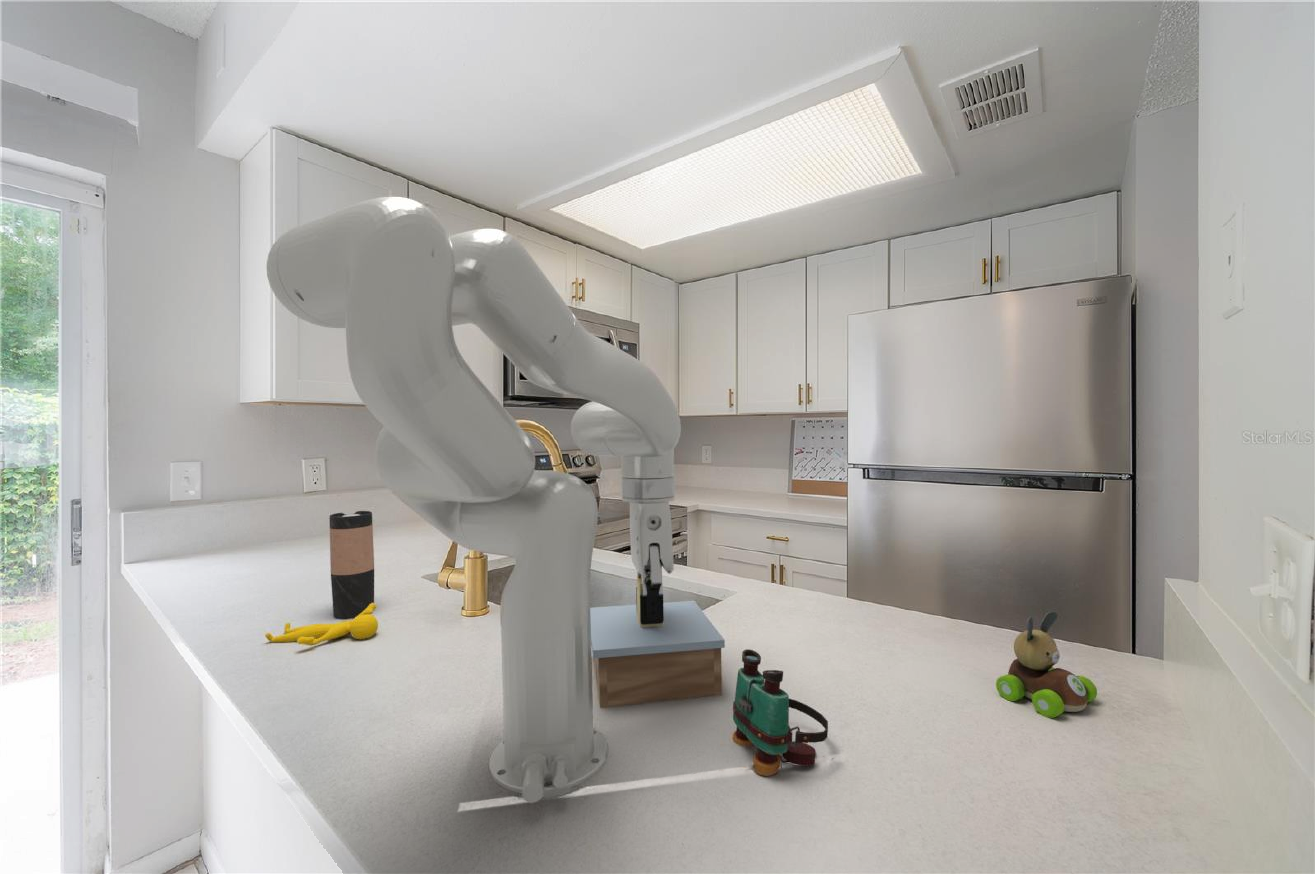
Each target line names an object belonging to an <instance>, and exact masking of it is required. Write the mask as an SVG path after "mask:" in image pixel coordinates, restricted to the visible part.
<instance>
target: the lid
mask: <svg viewBox="0 0 1315 874" xmlns="http://www.w3.org/2000/svg"><path fill="white" fill-rule="evenodd" d="M649 579H650V578H646V582H647V580H649ZM636 587H637V608H636V604H625V605H624V604H623V605H610V606H608V605H607V606H596V607H590V615H591V651H592V659H594V658H605V657H618V656H630V655H642V654H654V653H666V652H678V651H690V650H702V649H714V648H721V649H723V648H725V647H726V644H725V642H726V640H725V639H724V637H723V636H722V635H721V633H720V632H719V631H718V630H717V628H716V627H715V626H714V625H713V623H712V622H711V620H710V619H709V618H708V617H707V615H706V614H705V612H703V610H702V609H701V608H700V606H699V605H698V604H697V602H696V601H695V600H685V601H684V600H683V601H669V602H663V613H664V621H663V623H660V624H646V625H643V624H641V622H640V595H642V578H637V577H636Z"/></svg>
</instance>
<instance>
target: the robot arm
mask: <svg viewBox="0 0 1315 874" xmlns="http://www.w3.org/2000/svg"><path fill="white" fill-rule="evenodd" d="M265 267H266V277H267V280H268V283H269V286H270V288H271V290H272V292H273V294H274V296H275V297H276V298H277V300H278V301H279V303H280V304H281V305H282V306H284V307H285V308H286V309H287V310H288V312H290V313H291V314H293V315H294V316H296V317H297V318H299V319H301V320H303V321H304V322H308V323H310V324H313V325H316V326H320V327H323V328H332V329H345V340H346V341H345V342H346V353H347V354H346V355H347V364H348V371H349V374H350V378H351V382H352V385H353V387H354V390H355V391H356V394H357V396H358V397H359V399H360V400H361V401H362V403H363V404H364V406H365V408H367V410H368V411H369V412H370V413H371V415H372V416H373V417H374V418H375V419H376V420H377V421H378V422H379V423H380V424H381V425H382V426H383V427H382V429H381V430H380V431H379V434H378V436H377V439H376V443H375V449H374V450H375V454H374V455H375V462H376V466H377V470H378V473H379V475H380V478H381V479H382V480H383V483H384V484H385V485H386V487H387V488H388V490H389V491H391V493H392V494H393V495H394V496H395V497H396V498H398V499H399V500H400V501H401V502H402V503H403V504H405V505H406V506H407V507H408V508H410V509H411V510H412V511H413V512H414V513H416V514H417V515H418V516H420V517H421V518H423V519H424V521H427V523H429V524H430V525H431V526H432V527H434V528H435V529H436V530H438V531H439V532H441V534H443V535H444V536H445V537H446V538H448V539H450V540H451V541H452V542H453V543H456V544H457V545H459V546H460V547H462V548H464V549H467V550H469V551H474V552H478V553H483V554H488V555H489V554H490V555H497V556H505V557H508V558H514V559H515V563H514V568H513V569H512V571H511V574H510V575H509V577H508V580H507V581H506V584H505V586H504V588H503V591H502V594H501V599H500V607H499V608H500V613H499V614H500V615H499V616H500V618H499V620H500V623H499V624H500V632H501V633H500V636H501V640H500V642H501V669H502V670H501V671H502V673H501V675H502V705H503V707H502V711H503V715H502V716H503V739H502V740H501V741H500V742H498V744H497V746H495V748H494V749H493V750H492V753H491V755H490V757H489V762H488V763H489V764H488V766H489V767H488V769H489V773H490V775H491V777H492V779H493V780H494V781H495V782H496V783H497V784H498V785H499V786H501V787H503V788H504V789H507V790H508V791H512V792H515V793H521V794H517V795H514V797H516V798H519V799H520V798H521V799H523V800H524V801H525V802H527V803H529V804H534V803H537V802H538V801H540V800H541V799H550V798H551V799H552V798H557V797H561V796H563V795H567V794H571V793H573V792H574V791H578V790H580V789H581V788H583V786H579V787H576V786H578V785H580V784H582V783H584V782H586V781H588V780H589V779H590V778H592V777H593V776H595V775H596V774H597V773H598V772H599V771H600V769H602V767H603V766H604V764H605V763H606V761H607V758H608V755H609V745H608V744H609V743H608V742H607V739H606V737H605V736H604V735H603V733H602V732H601V731H599V730H598V729H597V728H595V727H594V704H593V702H594V701H593V700H594V699H593V696H594V695H593V663H592V662H593V661H592V660H593V653H592V646H591V615H590V608H591V570H592V559H593V551H594V545H595V540H596V539H595V538H596V535H597V534H596V533H597V529H598V520H599V518H598V517H599V510H598V509H599V508H598V502H597V499H596V495H595V494H594V491H593V490H592V488H590V486H589V485H588V483H586V482H585V481H584V480H583V479H581V478H579V477H578V476H575V475H573V474H570V473H567V472H563V471H562V472H561V471H555V470H537V469H535V467H536V456H535V451H534V447H533V445H532V443H531V440H530V439H529V437H528V435H527V433H526V432H525V431H524V430H523V428H522V427H521V425H519V423H518V422H517V421H516V419H515V418H514V417H513V416H512V415H511V414H510V413H509V412H508V411H507V409H506V407H504V406H503V405H502V403H500V402H499V400H498V399H497V398H496V396H495V395H494V394H493V393H492V392H491V391H490V389H488V387H486V385H485V384H484V383H483V382H482V380H481V379H480V378H479V377H478V376H477V375H476V373H475V372H474V371H473V369H472V368H471V367H470V365H469V364H468V362H466V360H465V359H464V357H463V356H462V354H461V352H460V351H459V349H458V346H457V342H456V339H455V334H454V330H453V327H454V326H460V325H466V324H472V325H475V326H476V327H477V328H478V329H479V330H480V331H481V332H482V333H483V334H484V335H485V336H486V337H487V338H488V339H489V340H490V341H491V342H492V343H493V344H494V346H496V348H497V349H498V350H499V351H500V352H501V353H502V354H503V355H504V356H505V357H506V358H507V360H509V361H510V363H512V364H513V366H514V367H515V368H516V369H517V370H518V371H519V373H520V374H521V375H522V376H523V377H524V378H526V380H528V381H529V382H530V383H532V384H533V385H535V386H538V387H539V388H540V387H541V388H543V389H546V390H548V391H551V392H554V393H558V394H562V395H564V396H565V395H566V396H569V397H573V398H579V399H583V400H587V401H589V402H587V403H585V404H583V405H582V406H580V407H579V408H578V409H577V410H576V411H575V413H574V414H573V417H572V419H571V424H570V433H571V436H572V439H573V442H574V444H575V445H576V446H577V447H578V448H579V450H581V451H582V452H584V453H585V454H588V455H591V456H593V457H594V456H595V457H602V458H603V457H604V458H605V457H606V458H608V457H609V458H611V457H612V458H621V459H620V461H621V462H620V464H621V472H620V473H621V480H620V481H621V501H622V502H625V503H629V538H630V539H629V540H630V543H629V545H630V555H631V560H632V564H633V566H634V568H635V570H636V579H637V578H642V595H640V622H641V624H643V625H646V624H660V623H663V621H664V613H663V603H664V594H663V592H664V590H663V570H664V571H665V572H666V573H668V575H669V574H672V573H673V572H674V570H675V564H674V547H673V531H672V527H673V526H672V518H671V517H672V515H671V510H670V509H671V508H670V502H673V501H675V448H676V447H677V445H678V444H679V440H680V437H681V431H682V425H681V424H682V423H681V418H680V414H679V411H678V408H677V406H676V404H675V402H674V400H673V398H672V397H671V395H670V394H669V392H668V390H667V389H666V387H665V385H664V384H663V382H662V381H661V380H660V378H659V376H658V375H656V373H655V372H654V371H653V370H652V369H651V368H650V367H649V366H648V365H646V364H644V362H642V361H641V360H639V359H637V358H636V357H634V356H633V355H631V354H630V353H628V352H625V351H624V350H622V349H620V348H618V347H617V346H615V345H613V344H611V343H610V342H608V341H606V340H604V339H602V338H600V337H598V336H596V335H594V334H592V333H591V332H588V330H586V329H585V328H584V326H583V325H582V324H581V322H580V321H579V320H578V318H577V317H576V315H575V314H574V313H573V311H572V310H571V308H570V307H569V305H567V303H566V302H565V300H564V299H563V298H562V296H561V295H560V293H558V291H557V290H556V288H555V287H554V285H553V284H552V283H551V281H550V280H549V279H548V278H547V276H546V275H545V273H544V272H543V270H542V268H540V267H539V265H538V264H537V263H536V261H535V259H534V258H533V257H532V256H531V254H530V253H529V252H528V251H527V249H526V248H525V247H524V245H523V244H522V243H521V242H520V241H519V239H517V238H515V237H514V235H512V234H510V233H509V232H506V231H504V230H501V229H498V228H488V227H486V228H478V229H472V230H468V231H463V232H460V233H456V234H453V235H449V234H448V233H447V230H446V228H445V226H444V224H443V223H442V222H441V220H440V219H439V217H438V216H437V215H436V214H435V213H434V212H433V211H432V210H430V208H429V207H427V206H426V205H424V204H423V203H420V202H418V201H417V200H414V199H412V198H409V197H403V196H384V197H376V198H371V199H367V200H364V201H363V200H362V201H359V202H357V203H353V204H352V205H348V206H346V207H342V208H340V209H338V210H336V211H333V212H330V213H328V214H326V215H324V216H321V217H318V218H315V219H312V220H310V221H307V222H304V223H302V224H299V225H297V226H295V227H292V228H290V229H288V230H287V231H286V232H284V233H283V234H281V235H280V236H279V237H278V238H277V239H276V240H275V242H274V243H273V244H272V246H271V248H270V249H269V252H268V254H267V260H266V266H265ZM646 578H650V579H649V580H647V582H646ZM635 596H636V597H635V598H636V601H635V602H636V604H635V605H636V608H637V586H636V587H635Z"/></svg>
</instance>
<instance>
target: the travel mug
mask: <svg viewBox="0 0 1315 874" xmlns="http://www.w3.org/2000/svg"><path fill="white" fill-rule="evenodd" d="M373 525H374V524H373V512H372V511H369V510H358V511H357V510H356V511H355V512H354V513H350V514H345V513H344V512H337V513H332V514H330V515H329V545H330V546H329V551H330V552H329V554H330V555H329V556H330V557H329V558H330V559H329V560H330V584H331V585H330V586H331V598H332V599H331V600H332V610H333V612H332V613H333V617H334V619H337V618H339V619H338V620H349V619H348V618H352V619H354V618H355V617H357V616H358V615H359V614H360V613H362V612H363V611H364V610H365V609H366V608H367V607H368V606H369V605H370V604H371V603H374V604H375V553H374V551H375V550H374V528H373Z"/></svg>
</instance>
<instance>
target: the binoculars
mask: <svg viewBox="0 0 1315 874" xmlns="http://www.w3.org/2000/svg"><path fill="white" fill-rule="evenodd" d="M761 661H762V656H761V655H760V653H758V652H757V651H755V650H753V649H748V648H747V649H744V650H743V651H742V652H741V662H742V663H743V667H741V668H739V669H738V671H737V677H736V687H735V692H734V693H735V694H734V701H733V704H732V712H733V713H732V714H733V715H732V719H733V722H734V724H735V725H736V730H735V731H734V732H733V733H732V741H733V742H734V744H736V745H738V746H741V747H750V746H753V745H754V746H756V747H757V752H755V753H754V755H753V759H752V760H753V764H752V767H753V770H754V772H755V773H757V774H758V775H761V776H772V775H775V774H776V773H777V772H778V771H779V770H780V768H781V763H783V764H784V763H785V764H786V763H790V764H792V765H797V766H802V767H811V766H814V765H815V764H816V752H817V751H816V749H815V748H814V747H813V746H812V745H810V744H808V743H812V744H814V743H822V742H825V740H827V739H828V732H829V721H828V720H827V718H826V717H825V716H824V715H823V714H822V713H820V712H819V711H817V710H816V709H815V708H813V707H811V706H809V705H807V704H805V703H803V702H801V701H798V700H796V699H792V698H789V694H788V693H787V692H786V691H784V690H783V689H782V688H780V686H781V682H783V681H784V679H783V678H784V671H783V670H776V669H772V670H771V669H770V670H769V669H768V670H763V671H762V673H761V672H760V671H759V670H758V668H759V665H761ZM790 709H794V710H796V711H798V712H800V713H803V714H805V715H807V716H809V717H811V718H812V719H814V720H815V721H816V722H818V723H819V724H820V725H821V726H822V727H823V728H824V730H822V731H818V732H809V731H807V732H804V731H801V730H800V726H798V725H797V726H794V727H792V728H791V727H790V726H789V725H790V724H789V719H790V718H789V717H790V713H789V712H790ZM794 730H796V731H795V738H794V740H793V731H794ZM783 759H784V760H783Z"/></svg>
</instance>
